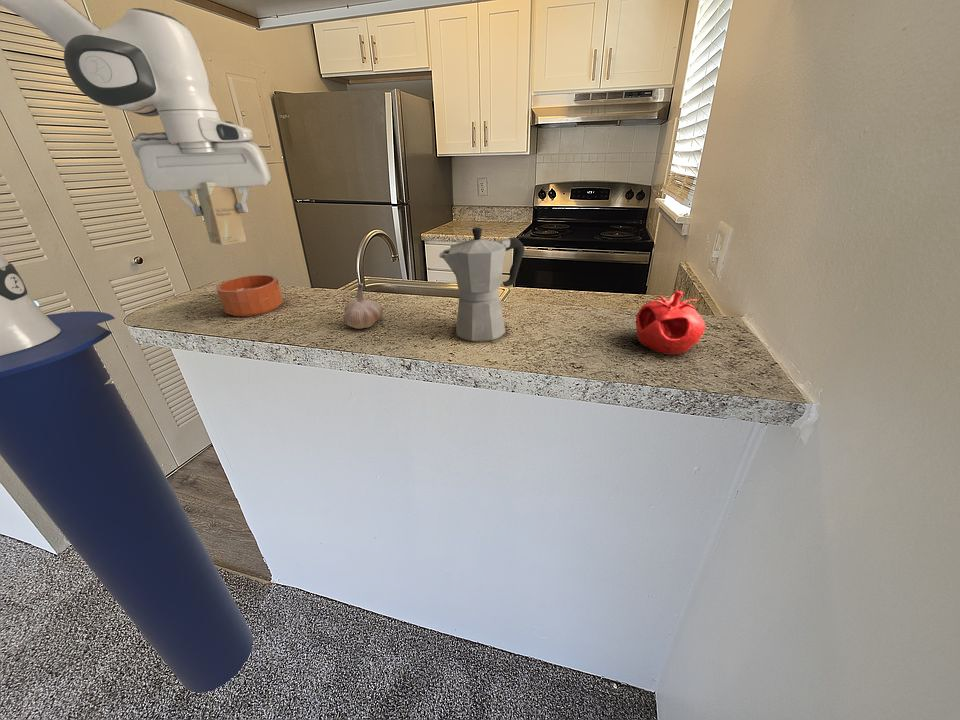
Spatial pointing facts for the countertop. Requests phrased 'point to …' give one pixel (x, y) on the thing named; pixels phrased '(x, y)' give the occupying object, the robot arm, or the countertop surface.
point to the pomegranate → (669, 325)
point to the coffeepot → (481, 284)
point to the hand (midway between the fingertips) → (222, 214)
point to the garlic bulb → (362, 311)
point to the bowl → (250, 295)
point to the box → (221, 214)
